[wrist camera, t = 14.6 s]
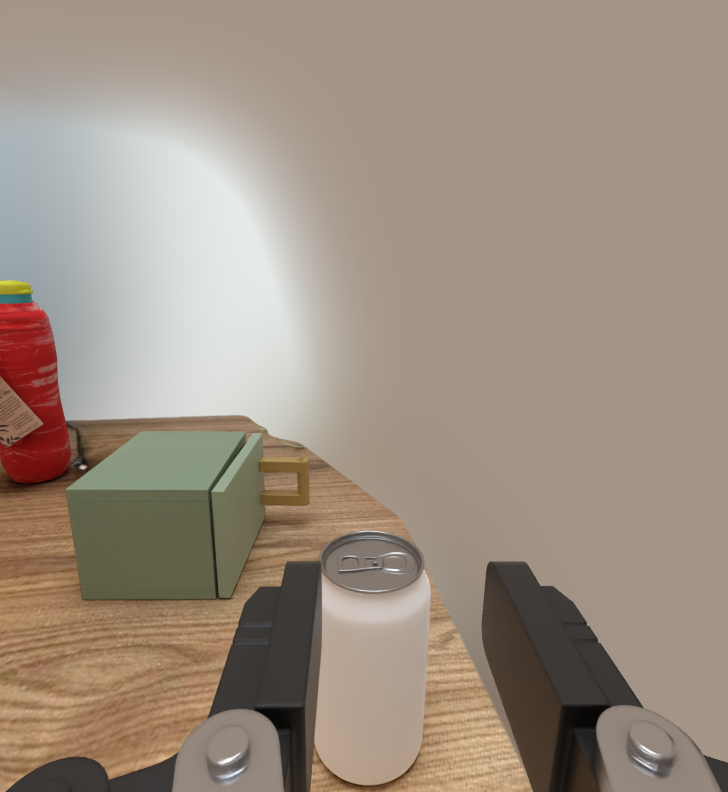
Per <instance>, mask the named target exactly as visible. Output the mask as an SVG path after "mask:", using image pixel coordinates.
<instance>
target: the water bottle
mask: <svg viewBox="0 0 728 792" xmlns="http://www.w3.org/2000/svg"><path fill="white" fill-rule="evenodd" d="M32 293H33V292H32V291H31V287H30V284H28V283H24V282H19V281H0V458H1V463H2V465H3V467H4V469H5V470H6V472H7V473H8V474H9V476H10V477H11V479H12V480H14V481H15V482H19V483H24V484H30V483H40V482H44V481H48V480H52V479H54V478H56V477H58V476H60V475H62V474H63V473H64V472H65V470H66V469H67V467H68V464H69V460H70V457H71V448H70V440H69V434H68V430H67V425H66V421H65V417H64V413H63V409H62V404H61V400H60V393H59V386H58V375H57V355H56V349H55V343H54V337H53V332H52V329H51V326H50V322H49V319H48V316H47V315H46V314H45V312H44V310H42V309H40V307H39V305H38V304H37V303H36V302H33V301H32V297H31V294H32Z"/></svg>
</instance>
